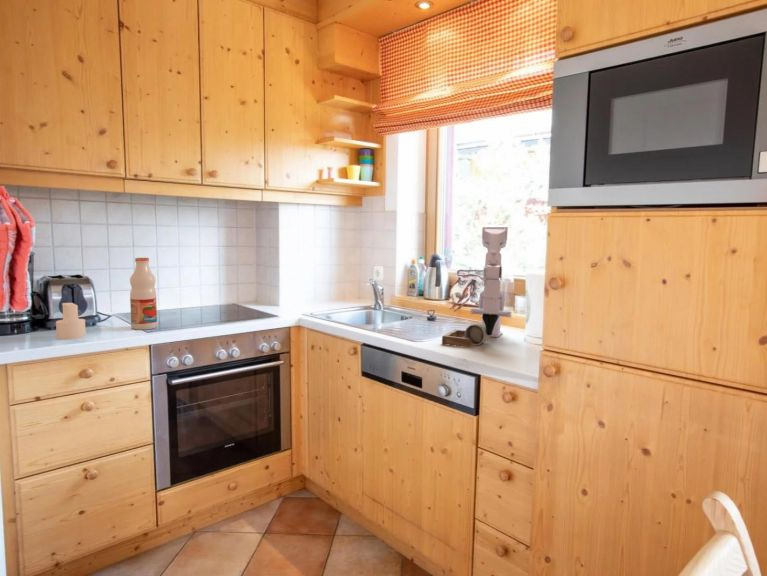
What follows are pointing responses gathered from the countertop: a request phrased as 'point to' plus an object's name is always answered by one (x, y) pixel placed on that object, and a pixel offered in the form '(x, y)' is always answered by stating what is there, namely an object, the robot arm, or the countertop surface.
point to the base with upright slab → (70, 323)
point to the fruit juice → (143, 297)
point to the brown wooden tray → (456, 338)
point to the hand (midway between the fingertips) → (489, 334)
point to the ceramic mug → (476, 333)
